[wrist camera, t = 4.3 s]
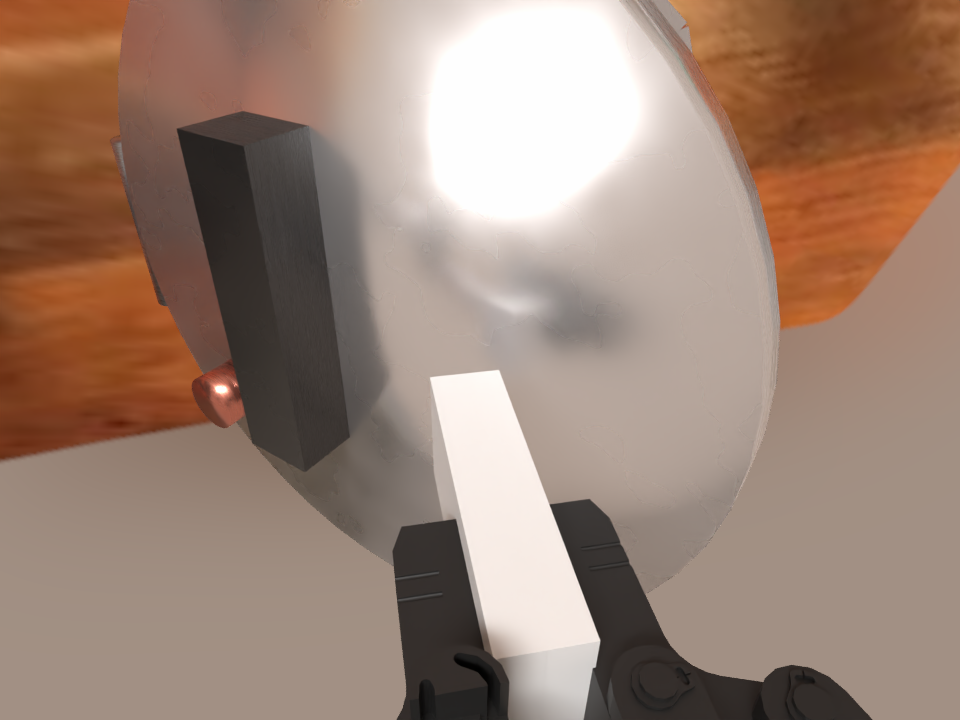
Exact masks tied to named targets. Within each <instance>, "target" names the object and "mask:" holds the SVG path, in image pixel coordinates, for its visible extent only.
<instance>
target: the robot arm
mask: <svg viewBox="0 0 960 720" xmlns="http://www.w3.org/2000/svg"><path fill="white" fill-rule="evenodd" d="M430 392H431V416H432V440H433V463H434V475H435V480H436V485H437V490H438V495H439V501H440V506H441V511H442V516H443V521H438V522H431V523H424V524H417V525H410V526H402V527H401V529H400V532H399V535H398V537H397V540H396V542H395V545H394V548H393V550H392V553H393V563H394V573H395V584H396V594H397V603H398V613H399V622H400V631H401V641H402V650H403V660H404V669H405V678H406V698H405V701H404V705H403V709H402V711H401V713H400V714H399V716H398V718H397V720H872V719H871V718H870V717H869V715H868V714H867V713H866V712H865V711H864V710H863V709H862V708H861V707H860V706H859V705H858V704H857V703H856V701H855V700H854V699H853V698H852V697H851V696H850V695H849V694H848V693H847V692H846V691H845V690H844V689H843V688H842V687H841V686H839V685H838V684H837V683H835V682H834V681H833V680H832V679H831V678H830V677H828V676H826V675H824V674H822V673H820V672H818V671H816V670H814V669H811V668H808V667H802V666H795V665H789V666H785V667H781V668H777V669H775V670H774V671H773V672H772V673H771V674H769V675H768V676H767V677H766V678H765V680H764V682H758V681H751V680H745V679H738V678H731V677H725V676H719V675H715V674H711V673H708V672H705V671H703V670H701V669H698V668H697V667H695V666H693V665H691V664H690V663H688V662H687V661H686V660H684V659H683V658H682V657H680V656H679V655H678V653H677V652H676V651H675V650H674V649H673V648H672V647H671V646H670V644H669V643H668V641H667V639H666V638H665V636H664V634H663V632H662V630H661V628H660V626H659V624H658V621H657V619H656V617H655V615H654V613H653V610H652V609H651V606H650V604H649V602H648V600H647V598H646V595H645V593H644V591H643V589H642V587H641V585H640V582H639V580H638V578H637V576H636V574H635V572H634V569H633V567H632V565H630V563H629V559H628V557H627V554H626V552H625V550H624V548H623V546H621V543H620V539H619V537H618V535H617V533H616V531H615V528H614V526H613V524H612V522H611V520H610V518H609V517H608V516H607V515H606V514H605V513H604V512H603V511H602V510H601V509H600V508H599V507H598V506H597V505H596V504H594V503H593V502H592V501H591V500H590V499H584V500H577V501H570V502H563V503H556V504H549V502H548V500H547V497H546V494H545V492H544V489H543V486H542V484H541V481H540V478H539V476H538V473H537V470H536V468H535V465H534V462H533V460H532V457H531V454H530V452H529V449H528V446H527V444H526V441H525V438H524V436H523V433H522V430H521V428H520V425H519V422H518V420H517V417H516V414H515V412H514V409H513V406H512V404H511V401H510V398H509V396H508V393H507V390H506V387H505V385H504V382H503V379H502V377H501V374H500V371H499V370H493V371H484V372H474V373H465V374H455V375H446V376H436V377H430Z"/></svg>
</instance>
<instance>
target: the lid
mask: <svg viewBox="0 0 960 720" xmlns="http://www.w3.org/2000/svg"><path fill="white" fill-rule="evenodd" d="M118 114H119V125H120V135H119V136H116V137H113V138H112V139H111V140H110V142H111V145H112V149H113V152H114V155H115V159H116V162H117V166H118V169H119V172H120V176H121V179H122V182H123V186H124V189H125V192H126V196H127V199H128V202H129V206H130V209H131V212H132V216H133V219H134V223H135V226H136V229H137V233H138V236H139V239H140V243H141V246H142V249H143V253H144V256H145V259H146V263H147V266H148V269H149V273H150V276H151V280H152V283H153V286H154V290H155V293H156V296H157V300H158V303H159V304H161V305H163V306H168V308H169V310H170V312H171V314H172V316H173V318H174V320H175V322H176V325H177V327H178V329H179V331H180V333H181V335H182V337H183V338H184V340H185V342H186V344H187V346H188V348H189V349H190V351H191V353H192V355H193V357H194V358H195V360H196V362H197V364H198V366H199V367H200V369H201V370H202V372H203V374H204V375H202V376H200V377H198V378H197V379H195V380H194V381H193V383H192V392H193V395H194V398H195V400H196V402H197V404H198V406H199V408H200V409H201V411H202V412H203V413H204V414H205V416H206V417H207V418H208V419H209V420H210V421H211V422H213V423H214V424H215V425H217V426H219V427H222V428H228V427H229V426H231V425H232V424H234V423H235V422H237V424H238V425H239V427H240V428H241V429H242V430H243V432H244V433H245V434H246V435H247V436H248V438H249V439H250V440H251V441H252V443H253V444H254V445H255V446H256V447H257V449H258V450H259V451H260V453H261V454H262V455H263V456H264V457H265V458H266V459H267V460H268V461H269V463H270V464H271V465H272V466H273V467H274V468H275V469H276V470H277V471H278V473H280V475H281V476H282V477H283V478H284V479H285V480H286V481H287V482H288V483H289V484H290V485H291V486H292V487H293V488H294V489H295V490H296V491H298V493H299V494H300V495H301V496H302V497H303V498H304V499H305V500H306V501H307V502H308V503H310V505H312V506H313V507H314V508H315V509H316V510H317V511H319V512H320V513H321V514H322V515H323V516H324V517H326V518H327V519H328V520H329V521H330V522H331V523H333V524H334V525H335V526H336V527H337V528H339V529H340V530H341V531H343V532H344V533H345V534H347V535H348V536H349V537H351V538H352V539H353V540H355V541H356V542H357V543H359V544H360V545H362V546H363V547H364V548H366V549H367V550H369V551H370V552H372V553H374V554H375V555H377V556H378V557H380V558H381V559H383V560H384V561H386V562H388V563H389V564H391V565H392V566H394V563H393V553H392V550H393V548H394V545H395V542H396V540H397V537H398V535H399V532H400V529H401V527H402V526H410V525H417V524H424V523H431V522H438V521H443V516H442V511H441V506H440V501H439V495H438V490H437V485H436V480H435V475H434V463H433V440H432V416H431V392H430V377H436V376H446V375H455V374H465V373H474V372H484V371H493V370H499V371H500V374H501V377H502V379H503V382H504V385H505V387H506V390H507V393H508V396H509V398H510V401H511V404H512V406H513V409H514V412H515V414H516V417H517V420H518V422H519V425H520V428H521V430H522V433H523V436H524V438H525V441H526V444H527V446H528V449H529V452H530V454H531V457H532V460H533V462H534V465H535V468H536V470H537V473H538V476H539V478H540V481H541V484H542V486H543V489H544V492H545V494H546V497H547V500H548V502H549V504H556V503H563V502H570V501H577V500H584V499H590V500H591V501H592V502H593V503H594V504H596V505H597V506H598V507H599V508H600V509H601V510H602V511H603V512H604V513H605V514H606V515H607V516H608V517H609V518H610V520H611V522H612V524H613V526H614V528H615V531H616V533H617V535H618V537H619V539H620V543H621V546H623V548H624V550H625V552H626V554H627V557H628V559H629V563H630V565H632V567H633V569H634V572H635V574H636V576H637V578H638V580H639V582H640V585H641V587H642V589H643V591H644V593H645V594H646V593H649V592H650V591H652V590H653V589H655V588H656V587H658V586H659V585H661V584H662V583H664V582H665V581H667V580H669V579H670V578H672V577H673V576H675V575H676V574H678V573H679V572H680V571H681V570H682V569H683V568H684V567H685V566H686V565H687V564H688V563H689V562H690V561H691V560H692V559H693V558H694V557H695V556H696V555H698V554H699V553H700V552H701V550H703V549H704V548H705V547H706V546H707V544H708V543H709V541H710V540H711V538H712V537H713V535H714V534H715V532H716V531H717V529H718V528H719V527H720V525H721V524H722V522H723V520H724V519H725V518H726V516H727V515H728V513H729V512H730V510H731V508H732V506H733V504H734V502H735V500H736V498H737V496H738V494H739V492H740V490H741V488H742V486H743V484H744V482H745V480H746V478H747V475H748V473H749V471H750V468H751V466H752V463H753V461H754V459H755V456H756V454H757V452H758V449H759V447H760V444H761V442H762V440H763V437H764V435H765V432H766V428H767V423H768V419H769V414H770V410H771V405H772V401H773V396H774V392H775V387H776V383H777V370H778V351H779V334H780V315H779V305H778V295H777V285H776V274H775V264H774V256H773V252H772V248H771V244H770V240H769V236H768V231H767V227H766V223H765V219H764V215H763V211H762V207H761V203H760V199H759V195H758V191H757V187H756V185H755V182H754V180H753V177H752V175H751V172H750V170H749V167H748V165H747V162H746V160H745V157H744V155H743V152H742V150H741V147H740V145H739V142H738V140H737V137H736V135H735V132H734V130H733V127H732V125H731V122H730V120H729V118H728V116H727V114H726V112H725V111H724V109H723V107H722V105H721V104H720V102H719V100H718V98H717V96H716V95H715V93H714V91H713V89H712V88H711V86H710V84H709V82H708V81H707V79H706V77H705V75H704V74H703V72H702V70H701V68H700V67H699V65H698V63H697V61H696V60H695V58H694V56H693V54H692V53H691V51H690V49H689V48H688V47H687V45H686V44H685V43H684V42H683V40H682V39H681V38H680V36H679V35H678V34H677V32H676V31H675V30H674V28H673V27H672V26H671V25H670V23H669V22H668V21H667V19H666V18H665V17H664V15H663V14H662V13H661V12H660V10H659V9H658V8H657V6H656V5H655V4H654V2H653V1H652V0H130V3H129V7H128V12H127V16H126V21H125V25H124V29H123V34H122V43H121V53H120V63H119V73H118Z"/></svg>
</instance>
